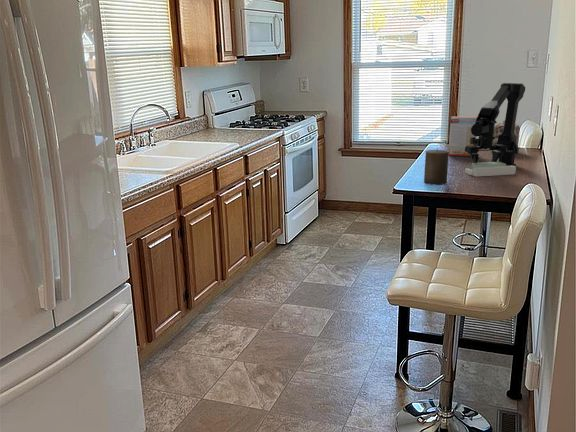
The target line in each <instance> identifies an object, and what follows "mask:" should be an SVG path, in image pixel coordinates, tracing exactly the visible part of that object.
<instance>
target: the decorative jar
mask: <svg viewBox="0 0 576 432" xmlns="http://www.w3.org/2000/svg"><path fill="white" fill-rule="evenodd" d="M504 124H505V119H504V120H502V122H500V123H498V122H497V123H496V124H495V127H494V137H495V139H493V145H494V144H497V141H498V136H499V135H501V134H502V132H503V130H504ZM520 128H521V127H520V125H519V124H517V123H515V128H514V134H515V136H516V143H517V145H518V146H519V141H520V131H521V129H520ZM492 151H493V150H490V153H491V154H492Z"/></svg>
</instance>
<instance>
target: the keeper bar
mask: <svg viewBox="0 0 576 432" xmlns="http://www.w3.org/2000/svg"><path fill="white" fill-rule="evenodd" d="M495 166H506V164H505V163H502V162H499V161H497V162H492V161H485V162H483V161H482V162H477V163H473V162H472V163H471V168H470V169H471V170H473V168H477V167H495Z"/></svg>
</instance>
